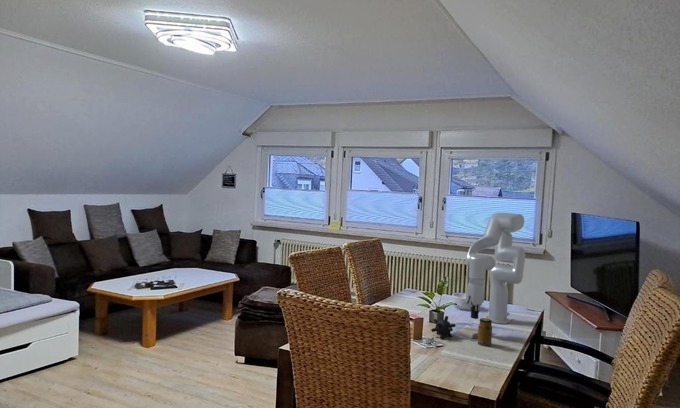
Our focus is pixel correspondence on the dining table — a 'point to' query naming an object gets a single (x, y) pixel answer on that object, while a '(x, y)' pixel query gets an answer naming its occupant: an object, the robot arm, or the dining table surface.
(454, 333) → the rubber mat
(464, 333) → the birch tile
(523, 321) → the dining table surface
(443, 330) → the toy ball
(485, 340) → the condiment
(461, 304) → the paper bowls
